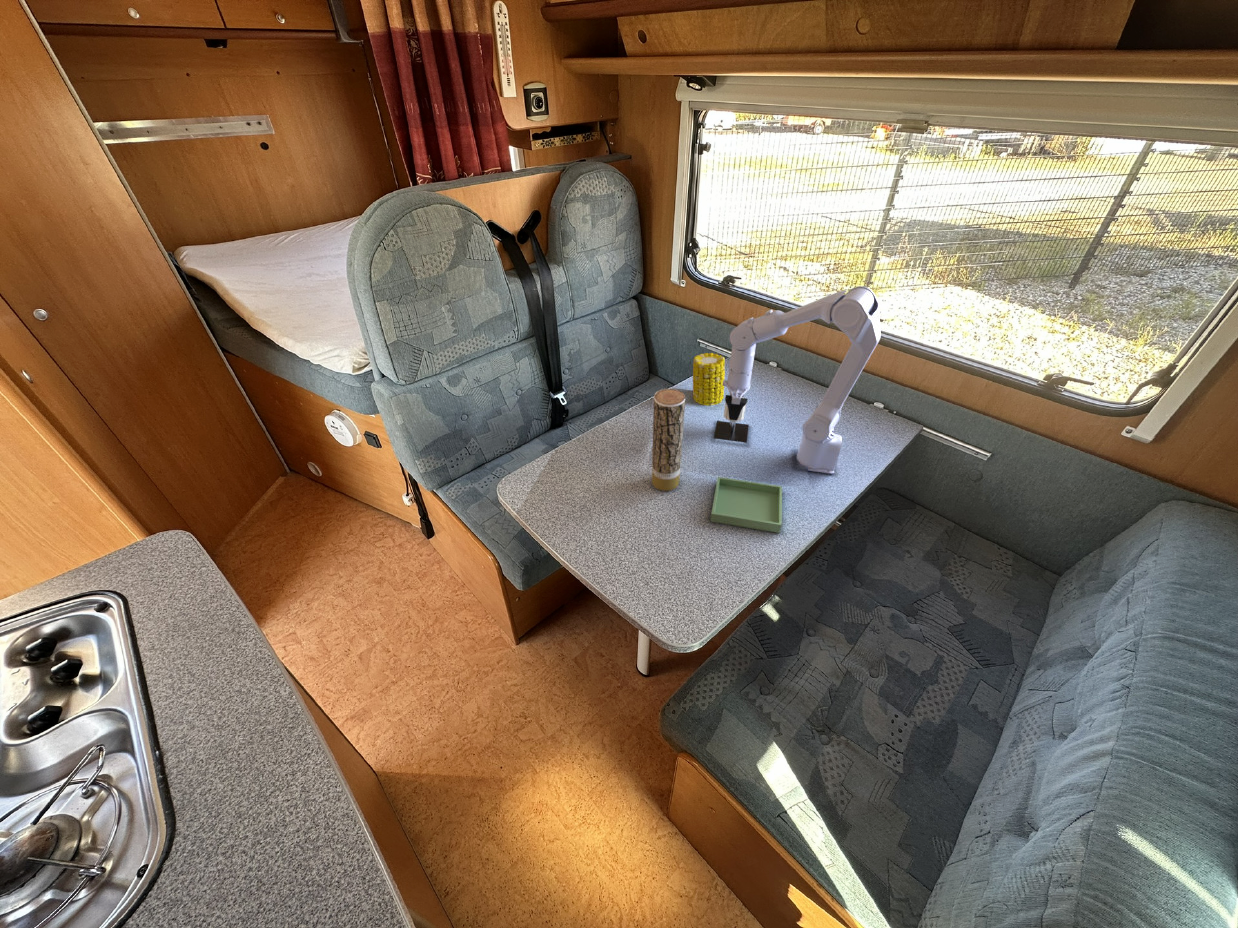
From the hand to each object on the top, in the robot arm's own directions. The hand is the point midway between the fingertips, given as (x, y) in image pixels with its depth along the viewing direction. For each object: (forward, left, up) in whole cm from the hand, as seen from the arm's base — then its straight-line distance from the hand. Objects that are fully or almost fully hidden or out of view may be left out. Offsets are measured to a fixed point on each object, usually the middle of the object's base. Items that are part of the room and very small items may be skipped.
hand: (734, 413), depth 134 cm
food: (+9, -17, -7) cm, 21 cm away
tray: (-6, +29, -7) cm, 30 cm away
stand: (0, 0, -7) cm, 7 cm away
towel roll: (0, 0, -1) cm, 1 cm away
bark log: (+14, +25, -7) cm, 30 cm away
